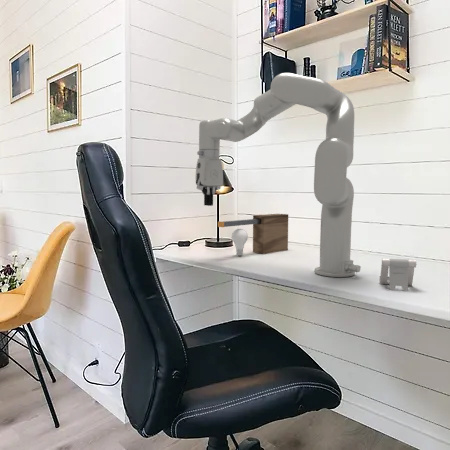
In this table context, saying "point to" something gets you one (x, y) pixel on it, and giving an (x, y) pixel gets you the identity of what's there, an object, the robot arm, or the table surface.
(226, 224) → the bar
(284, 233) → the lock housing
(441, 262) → the table surface
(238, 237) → the lightbulb
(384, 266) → the portable electronic device stand
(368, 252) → the table surface
